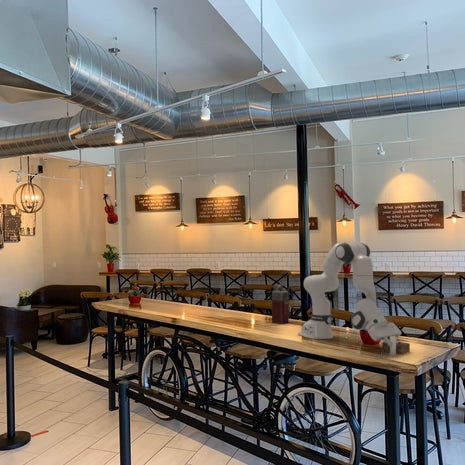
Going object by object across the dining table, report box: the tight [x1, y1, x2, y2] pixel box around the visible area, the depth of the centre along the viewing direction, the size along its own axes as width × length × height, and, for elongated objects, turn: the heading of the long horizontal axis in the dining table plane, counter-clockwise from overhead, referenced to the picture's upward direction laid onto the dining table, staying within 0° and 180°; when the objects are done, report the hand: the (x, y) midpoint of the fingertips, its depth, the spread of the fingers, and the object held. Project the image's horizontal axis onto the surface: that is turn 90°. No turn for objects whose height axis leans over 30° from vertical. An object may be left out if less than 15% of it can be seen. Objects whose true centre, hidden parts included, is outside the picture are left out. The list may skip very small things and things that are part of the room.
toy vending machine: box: [271, 284, 290, 325], centre depth 329 cm, size 9×11×28 cm
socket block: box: [381, 340, 411, 356], centre depth 245 cm, size 11×10×4 cm
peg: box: [389, 336, 397, 357], centre depth 236 cm, size 3×3×10 cm
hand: (393, 344), depth 236 cm, fingers open, 3 cm apart
